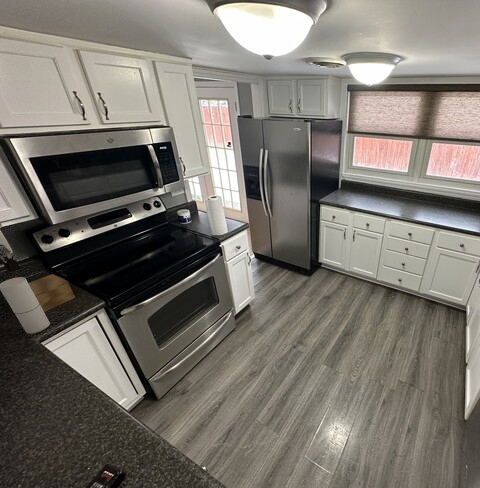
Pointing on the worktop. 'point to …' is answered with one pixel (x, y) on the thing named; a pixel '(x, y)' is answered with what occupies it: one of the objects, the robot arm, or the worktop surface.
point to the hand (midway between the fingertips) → (8, 267)
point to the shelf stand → (51, 291)
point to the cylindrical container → (24, 304)
